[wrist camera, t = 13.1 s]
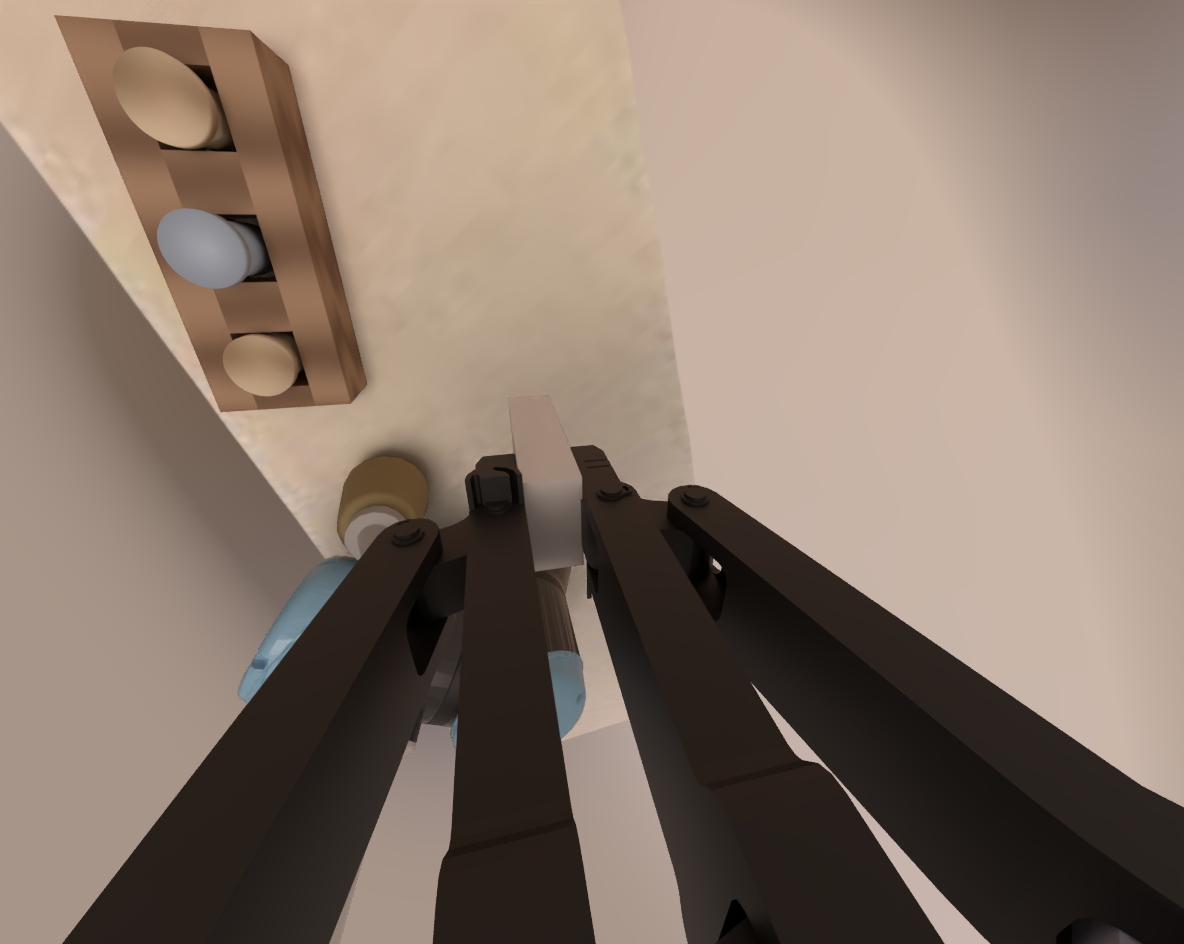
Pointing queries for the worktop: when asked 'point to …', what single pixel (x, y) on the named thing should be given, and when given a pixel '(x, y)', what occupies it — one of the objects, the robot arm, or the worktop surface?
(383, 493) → the squeeze bottle
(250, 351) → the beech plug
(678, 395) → the worktop surface
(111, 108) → the walnut block
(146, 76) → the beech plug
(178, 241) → the slate plug
